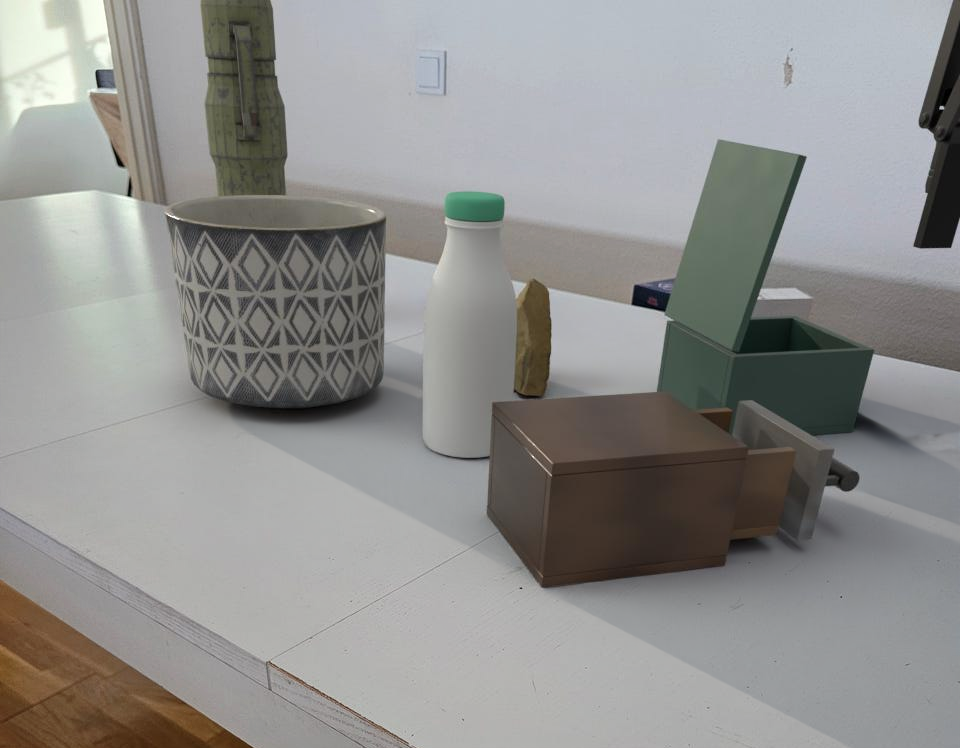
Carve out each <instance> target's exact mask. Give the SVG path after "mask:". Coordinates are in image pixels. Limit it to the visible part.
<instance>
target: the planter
mask: <svg viewBox="0 0 960 748" xmlns="http://www.w3.org/2000/svg"><path fill="white" fill-rule="evenodd" d="M164 216H165V222H166V227H167V233H168V234H167V235H168V240H169V241H168V242H169V248H170V255H171V261H172V267H173V274H174V280H175V281H174V282H175V285H176V286H175V287H176V292H177V300H178V307H179V313H180V319H181V325H182V327H181V328H182V332H183V340H184V346H185V352H186V359H187V365H188V372H189V376H190V380H191V381H192V383H193V385H194V386H195V387H196V388H197V389H198V390H200V391H201V392H203V393H204V394H206V395H207V396H210V397H212V398H215V399H217V400H221V401H224V402H228V403H232V404H238V405H245V406H252V407H258V408H265V409H272V410H302V409H303V410H304V409H313V408H317V407H322V406H326V405H327V406H328V405H333V404H337V403H338V404H339V403H343V402H347V401H350V400H353V399H357V398H359V397H362V396H364V395H366V394H368V393H370V392H372V391H373V390H375V389H376V388H377V387H379V385H380V384H381V382H382V380H383V377H384V374H385V319H386V318H385V315H386V314H385V313H386V311H385V310H386V309H385V308H386V248H387V247H386V245H387V242H386V241H387V239H386V238H387V214H386V212H385V211H384V210H383V209H381V208H379V207H376V206H374V205H371V204H367V203H362V202H358V201H354V200H353V201H352V200H346V199H339V198H330V197H322V196H321V197H319V196H306V195H305V196H304V195H287V194H286V195H235V196H218V195H217V196H208V197H200V198H193V199H186V200H182V201H177V202H175V203H172V204H170V205H168V206H166V208H165V209H164Z"/></svg>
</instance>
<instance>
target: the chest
mask: <svg viewBox="0 0 960 748" xmlns="http://www.w3.org/2000/svg"><path fill="white" fill-rule="evenodd" d="M874 353H875V349H874V348H872V347H869V346H866V345H865V344H864V345H863V344H862V343H860V342H857V341H855V340H852V339H851V338H848V337H846V336H843V335H841V334H839V333H836V332H834V331H831V330H829V329H827V328H824V327H822V326H820V325H817V324H815V323H814V322H813V323H812V322H811V321H808V320H806V319H804V318H801V317H799V316H797V315H781V316H779V315H778V316H755V317H754V316H751V319H750V322H749V325H748V327H747V330H746V333H745V336H744V339H743V342H742V345H741V347H740V350H739V352H735V351H731V350H729V349H727V348H725V347H724V346H722V345H720V344H718V343H716V342H714V341H712V340H710V339H708V338H707V337H705V336H703V335H701V334H699V333H697V332H695V331H693V330H691V329H690V328H688V327H686V326H684V325H682V324H680V323H678V322H676V321H675V320H667V321H666V326H665V331H664V338H663V346H662V353H661V360H660V367H659V373H658V379H657V387H656V392H664V391H665V392H667V393H669V394H670V395H672V396H673V397H675V398H676V399H678V400H679V401H681V402H682V403H684V404H685V405H687V406H688V407H690V408H691V409H693V410H700V409H714V408H729V409H731V410H732V411H733V414H732V419H731V424H730V429H729V434H730V435H731V436H732V434H733V429H734V424H735V418H736V413H737V408H738V403H739V401H748V400H753V401H754V402H756V403H758V404H759V405H761V406H763V407H764V408H766V409H768V410H769V411H771V412H773V413H774V414H776V415H778V416H780V417H781V418H783V419H785V420H786V421H788V422H790V423H791V424H793V425H795V426H796V427H798V428H800V429H802V430H803V431H805V432H807V433H808V434H810V435H812V436H819V435H829V434H831V435H832V434H843V433H852V432H853V431H854V427H855V424H856V420H857V416H858V413H859V409H860V406H861V402H862V397H863V394H864V390H865V386H866V383H867V380H868V375H869V372H870V368H871V365H872V361H873V357H874Z"/></svg>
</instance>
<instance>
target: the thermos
mask: <svg viewBox="0 0 960 748" xmlns="http://www.w3.org/2000/svg"><path fill="white" fill-rule="evenodd" d="M199 4H200V14H201V15H200V16H201V22H202V23H201V24H202V35H203V45H204V55H205V56H204V57H205V58H207V67H208V72H207V73H206V75H207V88H206V89H207V90H206V92H205V99H204V111H205V121H206V122H205V123H206V131H207V133H206V134H207V142H208V150H209V151H208V152H209V153H208V154H209V156H210V158H211V160H212V162H213V164H214V169H215V179H216V188H217V197H218V196H235V195H287V188H286V187H287V186H286V174H285V173H286V172H285V171H286V170H285V165H286V162H287V159H288V155H289V154H288V153H289V152H288V137H287V123H286V107H285V104H284V101H283V97H282V95H281V91H280V88H279V84H278V83H279V82H278V81H279V80H278V75H276V66H275V65H276V64H275V63H276V62H275V61H277V51H276V37H275V21H274V7H273V4H272V1H271V0H200V3H199Z"/></svg>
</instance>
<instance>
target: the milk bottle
mask: <svg viewBox="0 0 960 748" xmlns="http://www.w3.org/2000/svg"><path fill="white" fill-rule="evenodd" d="M505 202H506V201H505V197H504V196H502V195H501V194H498V193H493V192H486V191H472V190H471V191H468V190H466V191H465V190H462V191H452V192H449V193H446V195H445V199H444V215H445V219H444V225H446V228H447V233H446V239H445V243H444V247H443V249H442V254H441V257H440V259H439V261H438V264H437V267H436V269H435V271H434V273H433V276H432V278H431V280H430V283H429V286H428V289H427V293H426V298H425V305H424V316H423V317H424V319H423V320H424V321H423V351H422V352H423V354H422V355H423V356H422V357H423V358H422V439H423V442H424V444H425V446H426V447H428V448H429V450H432V451H433V452H435V453H438V454H441V455H445V456H448V457H452V458H453V457H454V458H463V459H464V458H467V459H474V458H475V459H476V458H485V457H490V440H491V420H492V414H493V413H492V403H493V402H504V401H514V391H515V390H514V375H515V356H516V337H517V304H516V299H517V297H516V291H515V288H514V287H515V286H514V284H513V281H512V278H511V275H510V272H509V270H508V267H507V265H506V261H505V257H504V253H503V248H502V243H501V229H502V228H503V227H504V217H505V205H506V204H505Z"/></svg>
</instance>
